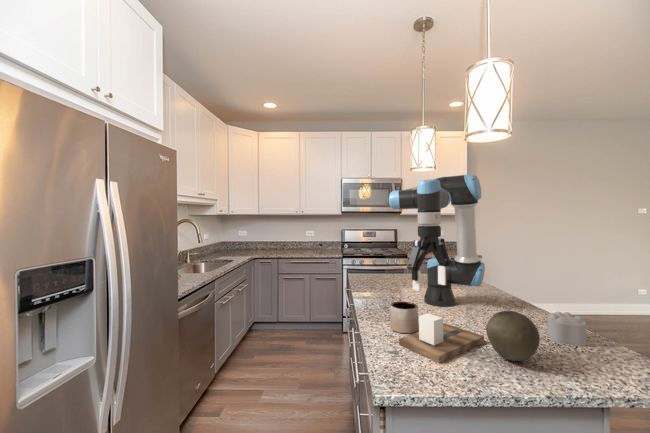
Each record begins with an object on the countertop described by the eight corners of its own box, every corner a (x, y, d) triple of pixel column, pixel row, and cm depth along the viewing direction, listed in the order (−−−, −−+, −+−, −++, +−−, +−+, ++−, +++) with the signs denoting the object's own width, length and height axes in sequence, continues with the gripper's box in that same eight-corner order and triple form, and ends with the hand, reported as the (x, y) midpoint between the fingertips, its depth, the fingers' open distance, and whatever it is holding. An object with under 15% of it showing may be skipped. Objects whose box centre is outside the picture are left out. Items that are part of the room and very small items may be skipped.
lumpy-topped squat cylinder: (552, 342, 106) (552, 318, 106) (543, 329, 117) (543, 307, 117) (590, 347, 101) (590, 322, 101) (577, 333, 113) (577, 310, 113)
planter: (407, 322, 127) (406, 300, 127) (424, 331, 116) (424, 307, 116) (385, 326, 123) (384, 303, 123) (401, 336, 113) (400, 310, 113)
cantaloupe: (483, 347, 102) (483, 303, 102) (532, 354, 97) (532, 308, 97) (490, 367, 89) (489, 317, 89) (547, 376, 84) (546, 322, 84)
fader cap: (428, 335, 106) (428, 313, 106) (443, 341, 101) (443, 318, 101) (419, 339, 103) (418, 316, 103) (434, 345, 98) (433, 321, 98)
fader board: (443, 328, 119) (443, 322, 119) (484, 342, 106) (483, 335, 106) (399, 344, 105) (399, 338, 105) (439, 363, 92) (439, 355, 92)
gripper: (413, 226, 92) (414, 295, 92) (460, 224, 106) (461, 284, 106) (395, 225, 98) (396, 290, 98) (441, 224, 112) (442, 280, 112)
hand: (429, 287), depth 102 cm, fingers open, 13 cm apart
